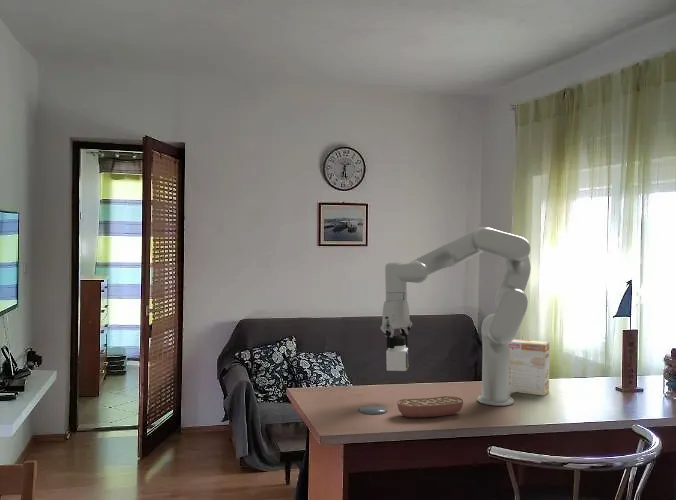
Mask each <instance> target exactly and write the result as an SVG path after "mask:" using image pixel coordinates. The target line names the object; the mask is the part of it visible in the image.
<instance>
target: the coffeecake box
mask: <svg viewBox="0 0 676 500" xmlns="http://www.w3.org/2000/svg"><path fill="white" fill-rule="evenodd" d="M509 347H510V363H509V388H514V389H515V393H519V394H520V393H522V394H528V395H537V396H543V397H545V396H547V394H549V393H550V341H542V340H540V341H539V340H529V339H528V340H527V339H516V338H514V339H513V340H512V341H511V342H510V343H509Z"/></svg>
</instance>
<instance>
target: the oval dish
mask: <svg viewBox="0 0 676 500" xmlns="http://www.w3.org/2000/svg"><path fill="white" fill-rule="evenodd" d="M396 403H397V404H396V405H397V409H398V411H399V412H400V414H401V415H402V416H403V417H407V418H409V419H411V418H413V419H414V418H417V419H418V418H435V417H444V416H451V415H452V416H453V415H455V414H457V413H459V412H460V411H461V410H462V407H463V406H464V405H463V404H464V399H463V398H461V397H458V396H450V395H449V396H448V395H447V396H444V395H443V396H435V397H426V398H403V399H402V398H401V399H399V400H398V401H396Z"/></svg>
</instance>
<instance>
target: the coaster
mask: <svg viewBox="0 0 676 500" xmlns="http://www.w3.org/2000/svg"><path fill="white" fill-rule="evenodd" d="M359 412H361V413H363V414H366V415H382V414H386V413H387V407H385V406H381V405H364V406H362V407H360V408H359Z"/></svg>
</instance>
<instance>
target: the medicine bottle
mask: <svg viewBox="0 0 676 500" xmlns="http://www.w3.org/2000/svg"><path fill="white" fill-rule="evenodd" d="M393 337H394V348H393V349H392V348H388V349H387V350H386V351H385V353H386V358H385V359H386V360H385V362H386V371H392V372H395V371H396V372H406V371H408V369H409V348H408V347H407V346H406V340H405V337H404V336H402V335H400V334H395V335H394V334H393Z"/></svg>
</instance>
